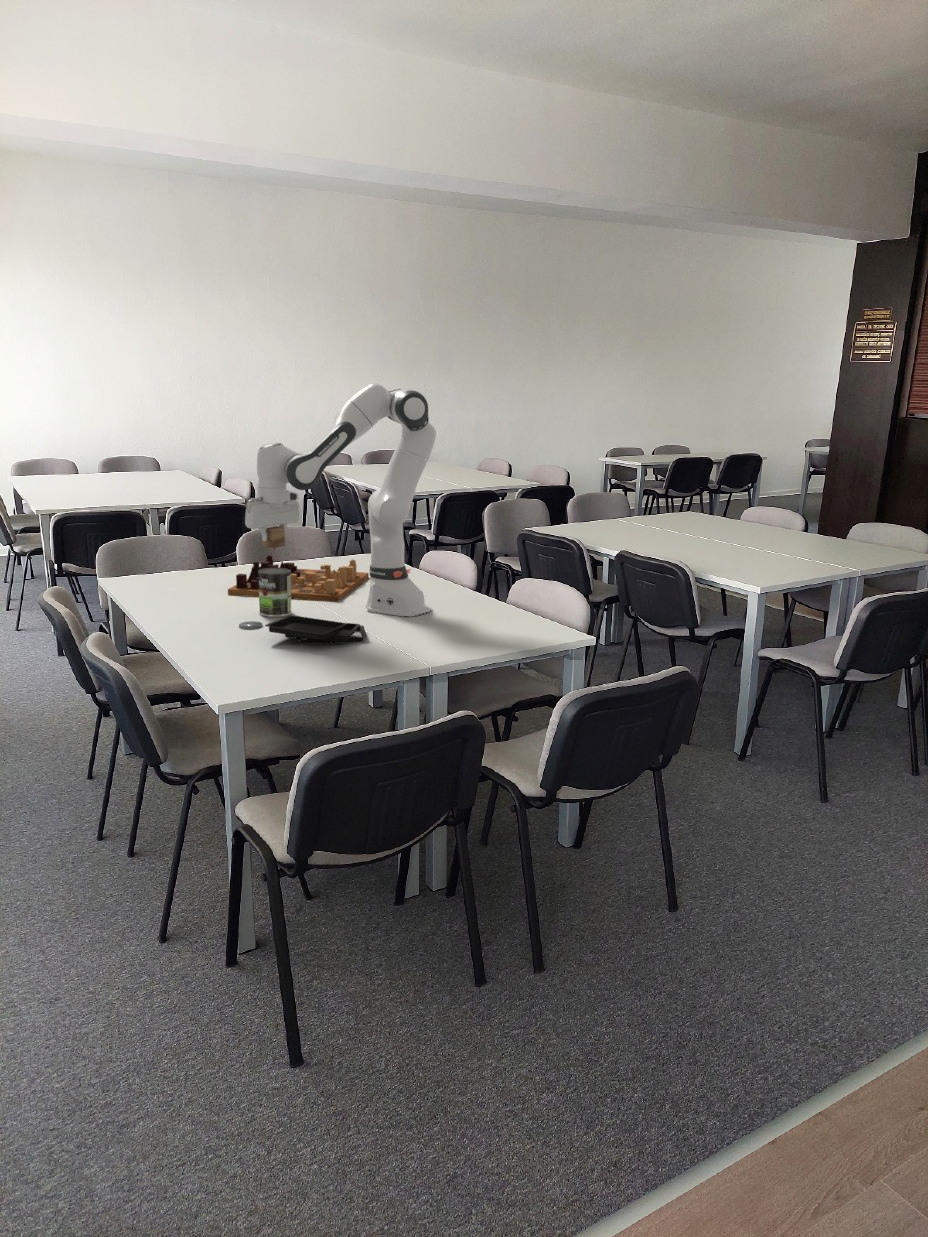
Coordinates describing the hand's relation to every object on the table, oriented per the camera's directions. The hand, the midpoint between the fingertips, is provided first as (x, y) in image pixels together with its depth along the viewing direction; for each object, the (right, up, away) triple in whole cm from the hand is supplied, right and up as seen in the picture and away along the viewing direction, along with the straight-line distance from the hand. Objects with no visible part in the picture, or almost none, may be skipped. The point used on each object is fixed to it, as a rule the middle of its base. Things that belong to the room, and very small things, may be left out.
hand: (273, 539), depth 283 cm
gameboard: (+1, -14, +46) cm, 48 cm away
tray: (+18, -32, -22) cm, 43 cm away
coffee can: (-1, -24, +6) cm, 24 cm away
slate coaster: (-5, -28, -10) cm, 30 cm away
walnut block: (0, -2, +1) cm, 2 cm away
